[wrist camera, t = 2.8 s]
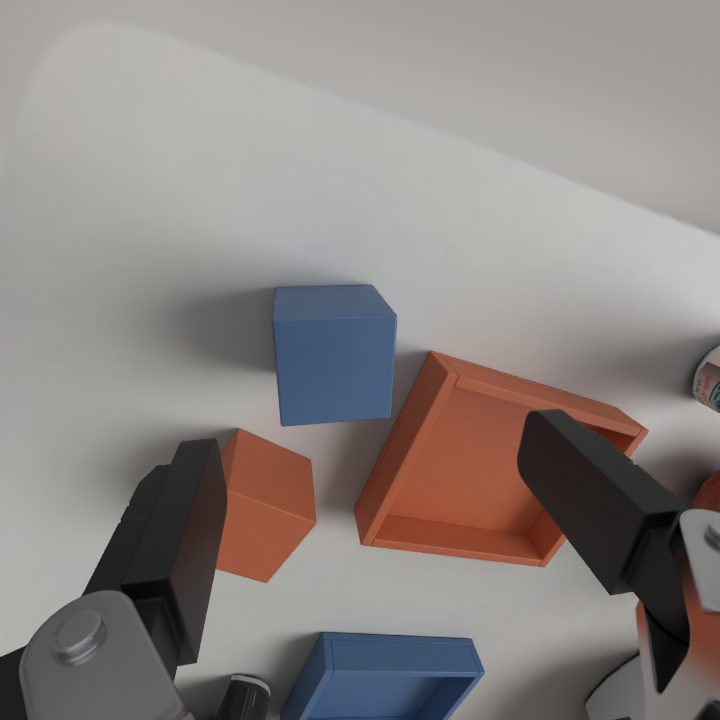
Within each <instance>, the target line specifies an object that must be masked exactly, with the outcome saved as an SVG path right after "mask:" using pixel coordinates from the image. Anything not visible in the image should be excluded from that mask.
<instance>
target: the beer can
mask: <svg viewBox="0 0 720 720" xmlns="http://www.w3.org/2000/svg"><path fill="white" fill-rule="evenodd" d="M693 394H694V396H695V398H696V399H697V400H698V401H699V402H700V403H702V404H704V405H706V406H707V407H709V408H711V409H713V410H715V411H717V412H718V413H720V345H719V346H717V347H715V348H714V349H713V350H712V351H711V352H709V353H708V354H707V355H706V356H705V357H704V359H703V360H702V361H701V362H700V364H699V366H698V367H697V370H696V372H695V377H694V382H693Z"/></svg>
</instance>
